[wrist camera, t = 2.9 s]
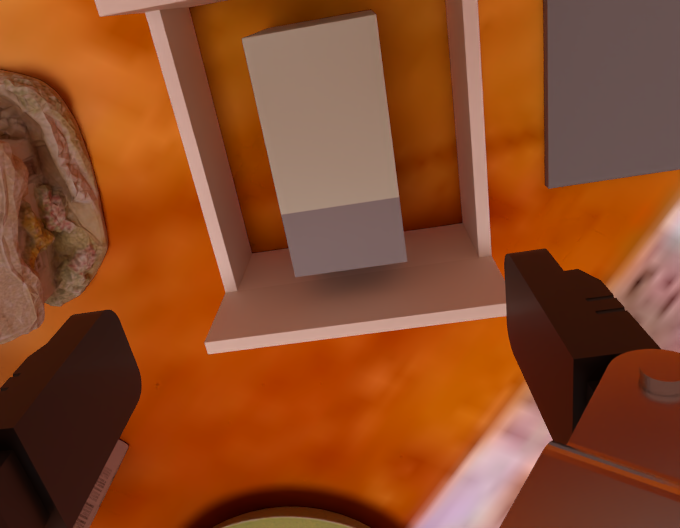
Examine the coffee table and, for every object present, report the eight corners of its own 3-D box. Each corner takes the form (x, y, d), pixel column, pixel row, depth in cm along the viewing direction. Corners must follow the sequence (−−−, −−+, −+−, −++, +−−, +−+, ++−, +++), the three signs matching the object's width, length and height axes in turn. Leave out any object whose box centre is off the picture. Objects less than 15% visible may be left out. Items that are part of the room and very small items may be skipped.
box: (370, 9, 27) (376, 14, 20) (396, 206, 31) (407, 261, 24) (267, 28, 27) (241, 38, 21) (306, 220, 31) (295, 277, 25)
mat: (755, -112, 24) (765, -115, 24) (721, 158, 29) (727, 162, 29) (542, -72, 25) (546, -73, 24) (545, 185, 30) (548, 188, 29)
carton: (454, -58, 25) (502, -82, 17) (474, 231, 31) (516, 314, 23) (173, -5, 26) (93, -4, 18) (244, 264, 32) (208, 354, 24)
